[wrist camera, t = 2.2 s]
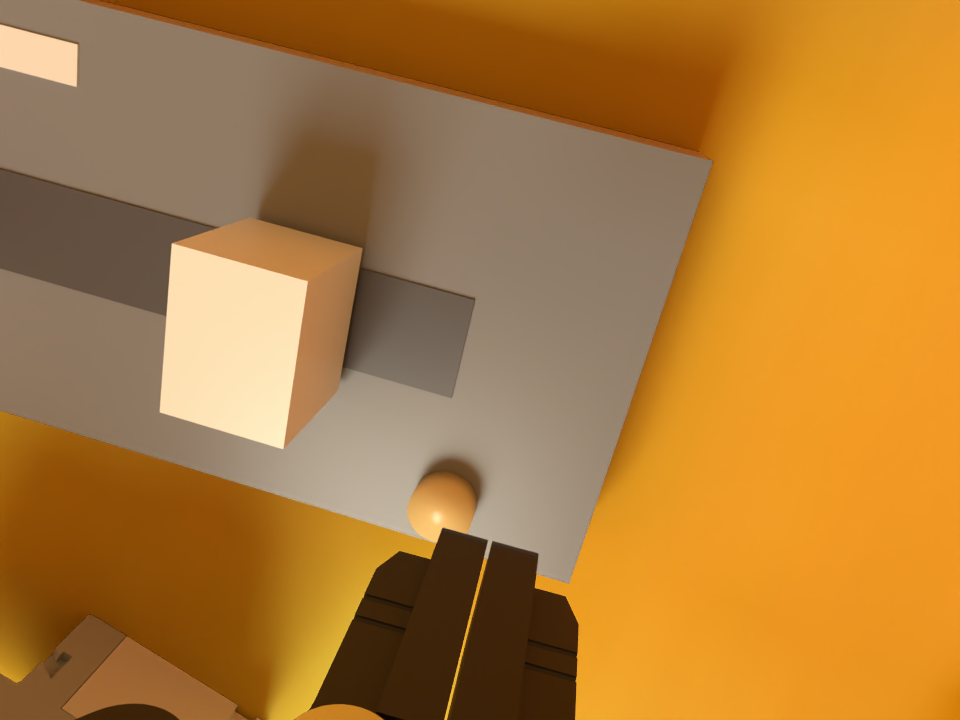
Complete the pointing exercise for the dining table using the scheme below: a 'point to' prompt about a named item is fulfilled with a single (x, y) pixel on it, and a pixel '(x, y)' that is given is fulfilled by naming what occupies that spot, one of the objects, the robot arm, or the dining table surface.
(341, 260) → the switch
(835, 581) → the dining table surface
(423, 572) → the robot arm
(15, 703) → the circuit breaker
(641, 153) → the breaker panel
